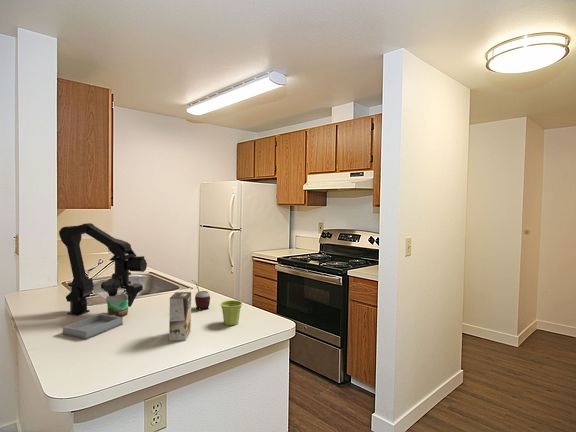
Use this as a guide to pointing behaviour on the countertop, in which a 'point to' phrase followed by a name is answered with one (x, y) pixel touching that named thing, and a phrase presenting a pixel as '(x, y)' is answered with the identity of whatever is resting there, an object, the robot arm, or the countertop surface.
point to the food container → (118, 304)
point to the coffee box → (180, 316)
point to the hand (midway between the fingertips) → (121, 305)
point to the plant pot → (231, 311)
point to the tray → (92, 326)
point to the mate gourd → (202, 299)
